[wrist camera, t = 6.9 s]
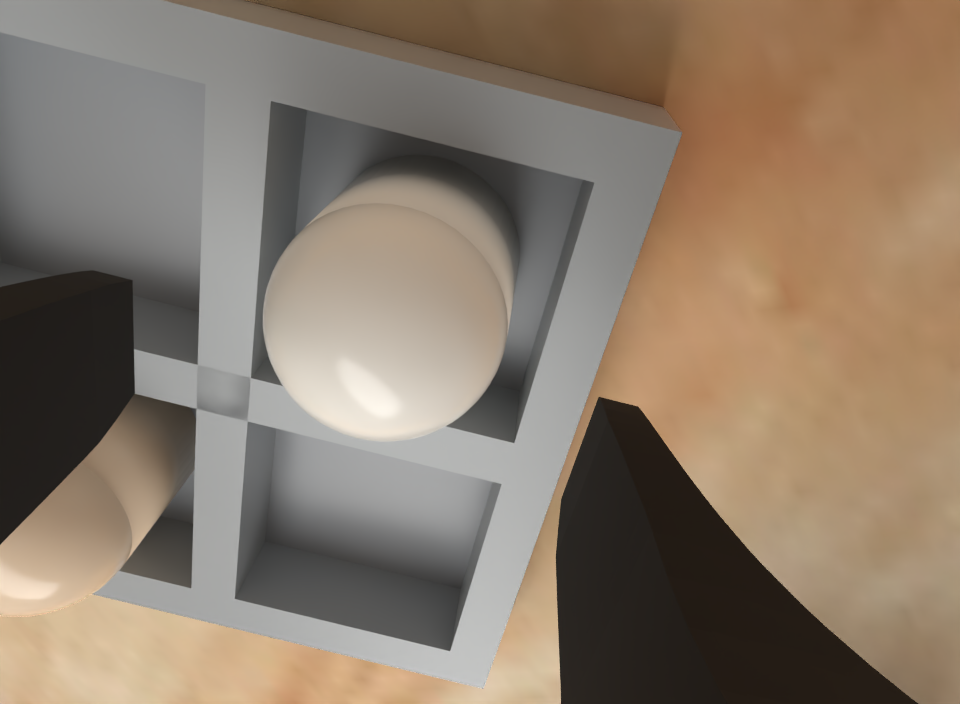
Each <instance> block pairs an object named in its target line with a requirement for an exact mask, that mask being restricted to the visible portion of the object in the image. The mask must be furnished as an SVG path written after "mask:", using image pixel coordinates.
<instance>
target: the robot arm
mask: <svg viewBox="0 0 960 704" xmlns="http://www.w3.org/2000/svg"><path fill="white" fill-rule="evenodd" d="M134 394H135V372H134V325H133V280H130V279H126V278H122V277H118V276H114V275H110V274H106V273H102V272H98V271H94V270H90V271H80V272H72V273H66V274H60V275H55V276H50V277H44V278H39V279H35V280H30V281H25V282H20V283H16V284H11V285H7V286H2V287H0V545H1V544H2V543H3V542H4V541H5V539H6V538H7V537H8V536H9V535H10V534H11V533H12V532H13V531H14V530H15V529H16V528H17V527H18V526H19V525H20V524H21V523H22V522H23V521H24V520H25V519H26V518H27V517H28V516H29V515H30V514H31V513H32V512H33V511H34V510H35V509H36V508H37V507H38V506H39V505H40V504H41V503H42V502H43V501H44V500H45V499H46V498H47V497H48V496H49V495H50V494H51V493H52V492H53V491H54V490H55V489H56V488H57V487H58V486H59V485H60V484H61V483H62V482H63V480H64V479H65V478H66V477H67V476H68V475H69V474H70V473H71V472H72V471H73V470H74V469H75V468H76V467H77V466H78V465H79V464H80V463H81V462H82V461H83V460H84V459H85V458H86V457H87V456H88V454H89V453H90V452H91V451H92V450H93V449H94V448H95V447H96V446H97V445H98V444H99V443H100V441H101V440H102V439H103V437H104V436H105V435H106V433H107V432H108V431H109V429H110V428H111V427H112V425H113V424H114V423H115V421H116V420H117V418H118V417H119V416H120V414H121V413H122V411H123V410H124V408H125V407H126V405H127V404H128V402H129V401H130V400H131V398H132V397H133V395H134ZM556 576H557V605H558V630H559V654H560V679H561V704H918V703H917V702H915V701H914V700H913V699H911V698H910V697H909V696H907V695H906V694H905V693H904V692H903V691H901V690H900V689H899V688H898V687H896V686H895V685H894V684H893V683H891V682H890V681H889V680H888V679H886V678H885V677H884V676H883V675H881V674H880V673H879V672H878V671H876V670H875V669H874V668H873V667H872V666H870V665H869V664H868V663H867V662H866V661H865V660H863V659H862V658H861V657H860V656H859V655H858V654H856V653H855V652H854V651H853V650H852V649H851V648H850V647H848V646H847V645H846V644H845V643H844V642H843V641H841V640H840V639H839V638H838V637H837V636H836V635H835V634H833V633H832V632H831V631H830V630H829V629H828V628H827V627H825V626H824V625H823V624H822V623H821V622H820V621H819V620H818V619H817V618H816V617H815V616H814V615H812V614H811V613H810V612H809V611H808V610H807V609H806V608H805V607H804V606H803V605H802V604H801V603H800V602H799V601H798V600H797V599H796V598H795V597H794V596H793V595H792V594H791V593H790V592H789V591H788V590H787V589H786V588H785V587H784V586H783V585H782V584H781V583H780V582H779V581H778V580H777V579H776V578H775V577H774V576H773V575H772V574H771V573H770V572H769V571H768V570H767V569H766V568H765V567H764V566H763V565H762V564H761V563H760V562H759V561H758V559H757V558H756V557H755V556H754V555H753V554H752V553H751V552H750V551H749V550H748V549H747V547H746V546H745V545H744V544H743V543H742V542H741V540H740V539H739V538H738V537H737V536H736V535H735V533H734V532H733V531H732V530H731V529H730V528H729V526H728V525H727V524H726V523H725V522H724V520H723V519H722V518H721V517H720V516H719V515H718V513H717V512H716V511H715V510H714V508H713V507H712V506H711V505H710V503H709V502H708V501H707V500H706V498H705V497H704V496H703V494H702V493H701V492H700V490H699V489H698V488H697V487H696V485H695V484H694V483H693V481H692V480H691V479H690V477H689V476H688V475H687V473H686V472H685V470H684V469H683V468H682V466H681V465H680V464H679V462H678V461H677V460H676V458H675V457H674V455H673V454H672V452H671V451H670V450H669V448H668V447H667V445H666V444H665V443H664V441H663V440H662V438H661V437H660V436H659V434H658V433H657V431H656V430H655V429H654V427H653V426H652V424H651V423H650V422H649V420H648V419H647V417H646V416H645V415H644V413H643V412H642V411H641V410H640V408H639V407H637V406H633V405H629V404H625V403H621V402H617V401H613V400H609V399H605V398H601V397H599V398H598V400H597V403H596V406H595V409H594V411H593V414H592V417H591V420H590V422H589V425H588V428H587V430H586V433H585V436H584V439H583V441H582V444H581V447H580V450H579V452H578V455H577V458H576V461H575V463H574V466H573V469H572V471H571V474H570V477H569V480H568V482H567V485H566V488H565V491H564V493H563V496H562V499H561V508H560V517H559V527H558V538H557V550H556Z"/></svg>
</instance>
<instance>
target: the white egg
mask: <svg viewBox="0 0 960 704" xmlns="http://www.w3.org/2000/svg"><path fill="white" fill-rule="evenodd" d="M519 258H520V249H519V239H518V234H517V230H516V227H515V224H514V221H513V218H512V216H511V214H510V212H509V210H508V208H507V206H506V204H505V203H504V202H503V200H502V199H501V197H500V196H499V194H498V193H497V192H496V191H495V190H494V189H493V188H492V187H491V186H490V184H488V183H487V182H486V181H485V180H484V179H483V178H481V177H480V176H479V175H477V174H476V173H474V172H473V171H471V170H470V169H468V168H466V167H464V166H462V165H460V164H458V163H456V162H453V161H450V160H447V159H444V158H440V157H435V156H430V155H405V156H399V157H395V158H390V159H387V160H385V161H382V162H379V163H377V164H375V165H373V166H372V167H370V168H368V169H366V170H365V171H364V172H362V173H361V174H360V175H358V176H357V177H356V178H355V179H354V180H353V181H352V182H351V183H350V184H349V185H348V186H347V187H346V188H345V189H344V190H343V191H342V192H341V193H340V194H339V195H338V196H337V197H336V198H335V199H333V200H332V201H331V202H330V203H329V204H328V205H327V206H326V207H325V208H324V209H323V210H322V211H321V212H320V213H319V214H318V215H317V216H316V217H315V218H314V219H313V220H312V221H311V222H310V223H309V224H308V225H307V226H306V227H305V228H304V229H303V230H302V231H301V232H300V233H299V234H298V235H297V236H296V237H295V238H294V239H293V240H292V241H291V243H290V244H289V245H288V246H287V248H286V249H285V251H284V252H283V253H282V255H281V256H280V258H279V260H278V262H277V264H276V266H275V268H274V270H273V272H272V275H271V277H270V280H269V283H268V286H267V289H266V294H265V300H264V307H263V331H264V339H265V344H266V348H267V352H268V356H269V359H270V362H271V364H272V367H273V369H274V371H275V373H276V375H277V377H278V378H279V380H280V382H281V384H282V385H283V387H284V388H285V390H286V391H287V392H288V394H289V395H290V396H291V398H292V399H293V400H294V401H295V402H296V403H297V404H298V405H299V406H300V407H301V408H302V409H303V410H304V411H305V412H306V413H308V414H309V415H310V416H311V417H313V418H314V419H316V420H317V421H318V422H320V423H322V424H323V425H325V426H327V427H329V428H331V429H333V430H335V431H337V432H340V433H342V434H345V435H348V436H351V437H354V438H358V439H363V440H368V441H379V442H389V441H401V440H409V439H414V438H418V437H422V436H425V435H427V434H430V433H433V432H435V431H437V430H439V429H441V428H443V427H445V426H447V425H449V424H450V423H452V422H454V421H455V420H457V419H458V418H459V417H461V416H462V415H463V414H464V413H466V412H467V411H468V410H469V409H470V408H471V407H472V406H473V405H474V404H475V403H476V402H477V401H478V400H479V399H480V397H481V396H482V395H483V393H484V392H485V391H486V390H487V388H488V386H489V385H490V383H491V382H492V380H493V378H494V376H495V374H496V372H497V370H498V368H499V365H500V362H501V360H502V357H503V354H504V350H505V345H506V340H507V335H508V329H509V323H510V317H511V311H512V305H513V299H514V293H515V287H516V281H517V274H518V268H519Z"/></svg>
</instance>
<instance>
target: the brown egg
mask: <svg viewBox="0 0 960 704" xmlns="http://www.w3.org/2000/svg"><path fill="white" fill-rule="evenodd" d="M195 443H196V418H195V416H194V414H193V412H192V410H191V409H190V407H187V406H183V405H178V404H174V403H170V402H166V401H162V400H158V399H154V398H150V397H146V396H142V395H138V394H134V395H133V397H132V398H131V400H130V401H129V402H128V404H127V405H126V407H125V408H124V410H123V411H122V413H121V414H120V416H119V417H118V418H117V420H116V421H115V423H114V424H113V425H112V427H111V428H110V429H109V431H108V432H107V433H106V435H105V436H104V437H103V439H102V440H101V441H100V443H99V444H98V445H97V446H96V447H95V448H94V449H93V450H92V451H91V452H90V453H89V454H88V456H87V457H86V458H85V459H84V460H83V461H82V462H81V463H80V464H79V465H78V466H77V467H76V468H75V469H74V470H73V471H72V472H71V473H70V474H69V475H68V476H67V477H66V478H65V479H64V480H63V482H62V483H61V484H60V485H59V486H58V487H57V488H56V489H55V490H54V491H53V492H52V493H51V494H50V495H49V496H48V497H47V498H46V499H45V500H44V501H43V502H42V503H41V504H40V505H39V506H38V507H37V508H36V509H35V510H34V511H33V512H32V513H31V514H30V515H29V516H28V517H27V518H26V519H25V520H24V521H23V522H22V523H21V524H20V525H19V526H18V527H17V528H16V529H15V530H14V531H13V532H12V533H11V534H10V535H9V536H8V537H7V538H6V539H5V541H4V542H3V543H2V544H1V545H0V616H17V617H26V616H35V615H41V614H46V613H51V612H54V611H57V610H60V609H63V608H66V607H69V606H71V605H73V604H75V603H77V602H80V601H82V600H83V599H85V598H87V597H88V596H90V595H92V594H93V593H95V592H96V591H98V590H99V589H100V588H101V587H103V586H104V585H105V584H106V583H107V582H108V581H109V580H111V579H112V578H113V577H114V576H115V575H116V574H117V572H118V571H119V570H120V569H121V568H122V566H123V565H124V564H125V563H126V561H127V560H128V559H129V557H130V556H131V555H132V553H133V552H134V551H135V549H136V548H137V546H138V545H139V544H140V542H141V541H142V540H143V538H144V537H145V536H146V534H147V533H148V532H149V530H150V529H151V528H152V526H153V525H154V524H155V522H156V521H157V520H158V518H159V517H160V516H161V514H162V513H163V511H164V510H165V509H166V507H167V506H168V505H169V503H170V502H171V501H172V499H173V498H174V497H175V495H176V494H177V493H178V491H179V490H180V489H181V487H182V486H183V485H184V483H185V482H186V481H187V479H188V478H189V476H190V475H191V474H192V472H193V471H194V470H195Z"/></svg>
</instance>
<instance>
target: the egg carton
mask: <svg viewBox="0 0 960 704" xmlns="http://www.w3.org/2000/svg"><path fill="white" fill-rule="evenodd" d="M681 135H682V131H681V130H680V129H679V127H678V126H677V125H676V123H675V122H674V120H673V119H672V118H671V116H670V115H669V114H668V112H667V111H666V109H665V108H664V107H661V106H657V105H653V104H649V103H645V102H641V101H637V100H633V99H630V98H626V97H622V96H618V95H614V94H610V93H606V92H602V91H598V90H594V89H590V88H586V87H582V86H579V85H575V84H571V83H567V82H563V81H559V80H555V79H551V78H547V77H543V76H539V75H535V74H531V73H528V72H524V71H520V70H516V69H512V68H508V67H504V66H500V65H496V64H492V63H488V62H484V61H480V60H477V59H473V58H469V57H465V56H461V55H457V54H453V53H449V52H445V51H441V50H437V49H433V48H429V47H426V46H422V45H418V44H414V43H410V42H406V41H402V40H398V39H394V38H390V37H386V36H382V35H379V34H375V33H371V32H367V31H363V30H359V29H355V28H351V27H347V26H343V25H339V24H335V23H331V22H328V21H324V20H320V19H316V18H312V17H308V16H304V15H300V14H296V13H292V12H288V11H284V10H280V9H277V8H273V7H269V6H265V5H261V4H257V3H253V2H249V1H245V0H0V287H2V286H7V285H11V284H16V283H20V282H25V281H30V280H35V279H39V278H44V277H50V276H55V275H60V274H66V273H72V272H80V271H90V270H94V271H98V272H102V273H106V274H110V275H114V276H118V277H122V278H126V279H130V280H133V325H134V372H135V394H138V395H142V396H146V397H150V398H154V399H158V400H162V401H166V402H170V403H174V404H178V405H183V406H187V407H190V409H191V410H192V412H193V414H194V416H195V418H196V443H195V470H194V471H193V472H192V474H191V475H190V476H189V478H188V479H187V481H186V482H185V483H184V485H183V486H182V487H181V489H180V490H179V491H178V493H177V494H176V495H175V497H174V498H173V499H172V501H171V502H170V503H169V505H168V506H167V507H166V509H165V510H164V511H163V513H162V514H161V516H160V517H159V518H158V520H157V521H156V522H155V524H154V525H153V526H152V528H151V529H150V530H149V532H148V533H147V534H146V536H145V537H144V538H143V540H142V541H141V542H140V544H139V545H138V546H137V548H136V549H135V551H134V552H133V553H132V555H131V556H130V557H129V559H128V560H127V561H126V563H125V564H124V565H123V566H122V568H121V569H120V570H119V571H118V572H117V574H116V575H115V576H114V577H113V578H112V579H111V580H109V581H108V582H107V583H106V584H105V585H104V586H103V587H101V588H100V589H99V590H98V591H96V592H95V593H93V594H94V595H98V596H102V597H106V598H110V599H114V600H118V601H123V602H127V603H131V604H135V605H139V606H143V607H147V608H152V609H156V610H160V611H164V612H168V613H172V614H176V615H180V616H185V617H189V618H193V619H197V620H201V621H205V622H209V623H213V624H218V625H222V626H226V627H230V628H234V629H238V630H242V631H246V632H251V633H255V634H259V635H263V636H267V637H271V638H275V639H280V640H284V641H288V642H292V643H296V644H300V645H304V646H308V647H313V648H317V649H321V650H325V651H329V652H333V653H337V654H341V655H346V656H350V657H354V658H358V659H362V660H366V661H370V662H374V663H379V664H383V665H387V666H391V667H395V668H399V669H403V670H408V671H412V672H416V673H420V674H424V675H428V676H432V677H436V678H441V679H445V680H449V681H453V682H457V683H461V684H465V685H469V686H474V687H478V688H482V689H484V686H485V683H486V680H487V677H488V675H489V672H490V669H491V666H492V663H493V661H494V658H495V655H496V652H497V649H498V647H499V644H500V641H501V638H502V635H503V633H504V630H505V627H506V624H507V621H508V619H509V616H510V613H511V610H512V608H513V605H514V602H515V599H516V596H517V594H518V591H519V588H520V585H521V582H522V580H523V577H524V574H525V571H526V568H527V566H528V563H529V560H530V557H531V554H532V552H533V549H534V546H535V543H536V540H537V538H538V535H539V532H540V529H541V526H542V524H543V521H544V518H545V515H546V513H547V510H548V507H549V504H550V501H551V499H552V496H553V493H554V490H555V487H556V485H557V482H558V479H559V476H560V473H561V471H562V468H563V465H564V462H565V459H566V457H567V454H568V451H569V448H570V445H571V443H572V440H573V437H574V434H575V432H576V429H577V426H578V423H579V420H580V418H581V415H582V412H583V409H584V406H585V404H586V401H587V398H588V395H589V392H590V390H591V387H592V384H593V381H594V378H595V376H596V373H597V370H598V367H599V364H600V362H601V359H602V356H603V353H604V350H605V348H606V345H607V342H608V339H609V337H610V334H611V331H612V328H613V325H614V323H615V320H616V317H617V314H618V311H619V309H620V306H621V303H622V300H623V297H624V295H625V292H626V289H627V286H628V283H629V281H630V278H631V275H632V272H633V269H634V267H635V264H636V261H637V258H638V255H639V253H640V250H641V247H642V244H643V242H644V239H645V236H646V233H647V230H648V228H649V225H650V222H651V219H652V216H653V214H654V211H655V208H656V205H657V202H658V200H659V197H660V194H661V191H662V188H663V186H664V183H665V180H666V177H667V174H668V172H669V169H670V166H671V163H672V161H673V158H674V155H675V152H676V149H677V147H678V144H679V141H680V138H681ZM405 155H430V156H435V157H440V158H444V159H447V160H450V161H453V162H456V163H458V164H460V165H462V166H464V167H466V168H468V169H470V170H471V171H473V172H474V173H476V174H477V175H479V176H480V177H481V178H483V179H484V180H485V181H486V182H487V183H488V184H490V186H491V187H492V188H493V189H494V190H495V191H496V192H497V193H498V194H499V196H500V197H501V199H502V200H503V202H504V203H505V204H506V206H507V208H508V210H509V212H510V214H511V216H512V218H513V221H514V224H515V227H516V230H517V234H518V239H519V249H520V258H519V268H518V274H517V281H516V287H515V293H514V299H513V305H512V311H511V317H510V323H509V329H508V335H507V340H506V345H505V350H504V354H503V357H502V360H501V362H500V365H499V368H498V370H497V372H496V374H495V376H494V378H493V380H492V382H491V383H490V385H489V386H488V388H487V390H486V391H485V392H484V393H483V395H482V396H481V397H480V399H479V400H478V401H477V402H476V403H475V404H474V405H473V406H472V407H471V408H470V409H469V410H468V411H467V412H466V413H464V414H463V415H462V416H461V417H459V418H458V419H457V420H455V421H454V422H452V423H450V424H449V425H447V426H445V427H443V428H441V429H439V430H437V431H435V432H433V433H430V434H427V435H425V436H422V437H418V438H414V439H409V440H401V441H389V442H379V441H368V440H363V439H358V438H354V437H351V436H348V435H345V434H342V433H340V432H337V431H335V430H333V429H331V428H329V427H327V426H325V425H323V424H322V423H320V422H318V421H317V420H316V419H314V418H313V417H311V416H310V415H309V414H308V413H306V412H305V411H304V410H303V409H302V408H301V407H300V406H299V405H298V404H297V403H296V402H295V401H294V400H293V399H292V398H291V396H290V395H289V394H288V392H287V391H286V390H285V388H284V387H283V385H282V384H281V382H280V380H279V378H278V377H277V375H276V373H275V371H274V369H273V367H272V364H271V362H270V359H269V356H268V352H267V348H266V344H265V339H264V331H263V307H264V300H265V294H266V289H267V286H268V283H269V280H270V277H271V275H272V272H273V270H274V268H275V266H276V264H277V262H278V260H279V258H280V256H281V255H282V253H283V252H284V251H285V249H286V248H287V246H288V245H289V244H290V243H291V241H292V240H293V239H294V238H295V237H296V236H297V235H298V234H299V233H300V232H301V231H302V230H303V229H304V228H305V227H306V226H307V225H308V224H309V223H310V222H311V221H312V220H313V219H314V218H315V217H316V216H317V215H318V214H319V213H320V212H321V211H322V210H323V209H324V208H325V207H326V206H327V205H328V204H329V203H330V202H331V201H332V200H333V199H335V198H336V197H337V196H338V195H339V194H340V193H341V192H342V191H343V190H344V189H345V188H346V187H347V186H348V185H349V184H350V183H351V182H352V181H353V180H354V179H355V178H356V177H357V176H358V175H360V174H361V173H362V172H364V171H365V170H366V169H368V168H370V167H372V166H373V165H375V164H377V163H379V162H382V161H385V160H387V159H390V158H395V157H399V156H405Z"/></svg>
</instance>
